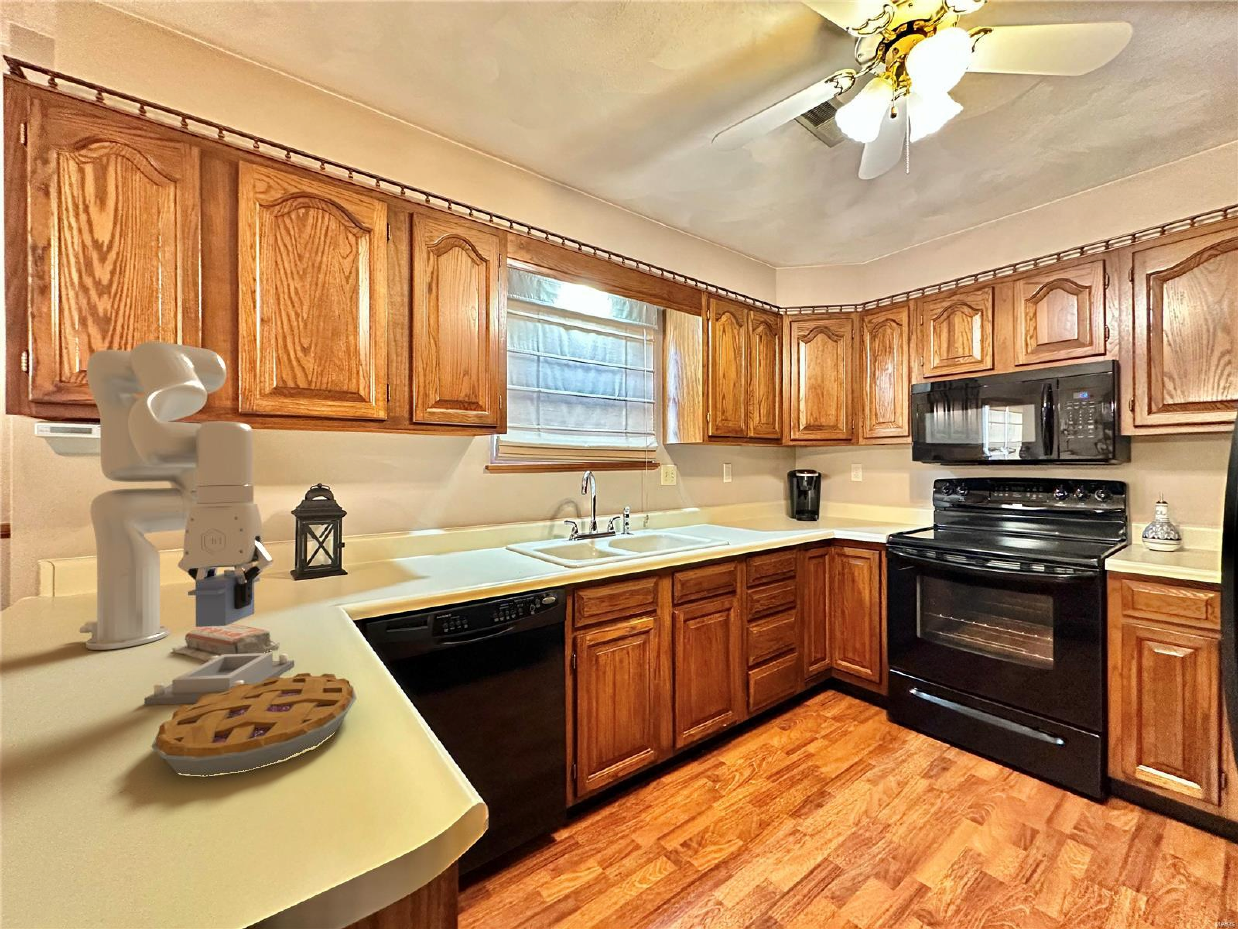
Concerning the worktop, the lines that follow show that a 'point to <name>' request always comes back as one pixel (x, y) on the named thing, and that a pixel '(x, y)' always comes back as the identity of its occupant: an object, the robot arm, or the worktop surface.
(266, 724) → the pie
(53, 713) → the worktop surface
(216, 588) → the block
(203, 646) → the packaged product
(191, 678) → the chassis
